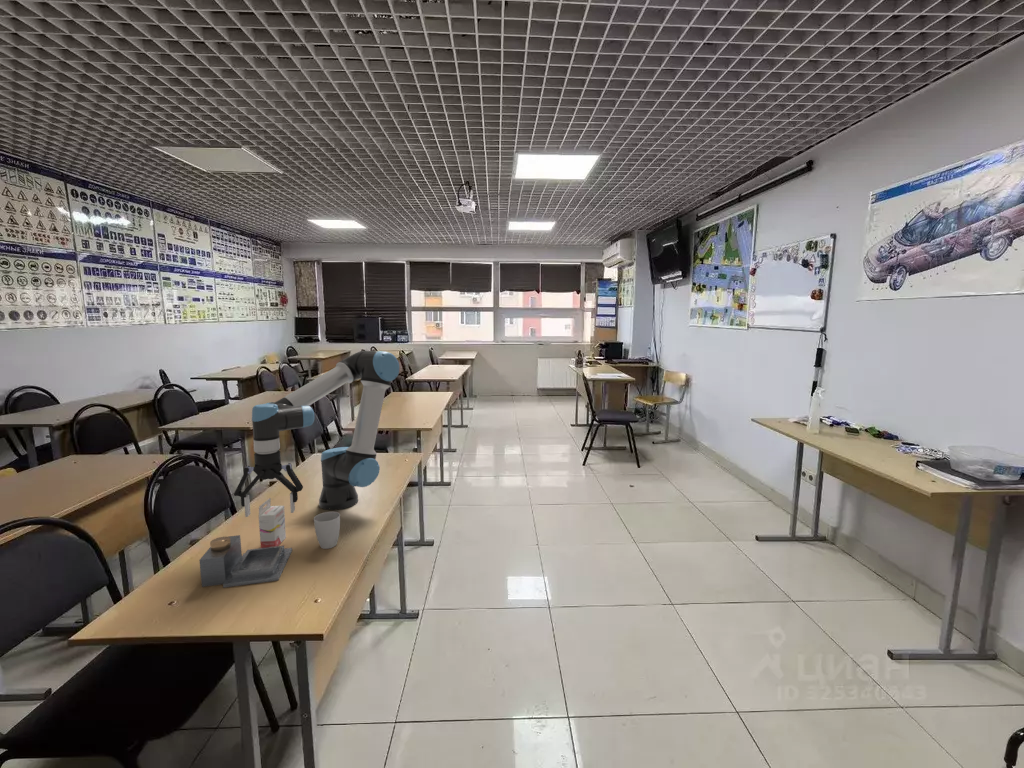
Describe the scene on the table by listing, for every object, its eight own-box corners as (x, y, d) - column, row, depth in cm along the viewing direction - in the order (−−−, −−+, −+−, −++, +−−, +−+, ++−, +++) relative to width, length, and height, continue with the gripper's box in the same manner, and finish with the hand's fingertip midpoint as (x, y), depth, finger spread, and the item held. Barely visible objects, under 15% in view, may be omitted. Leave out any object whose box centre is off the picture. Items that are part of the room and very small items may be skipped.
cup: (346, 541, 152) (345, 513, 151) (329, 552, 144) (328, 523, 143) (327, 537, 155) (325, 510, 153) (309, 548, 147) (308, 519, 146)
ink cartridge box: (276, 549, 147) (273, 506, 145) (260, 550, 146) (257, 507, 144) (286, 537, 155) (284, 496, 153) (272, 537, 155) (269, 497, 153)
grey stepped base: (292, 550, 146) (290, 521, 144) (278, 580, 128) (275, 547, 127) (222, 558, 141) (220, 528, 139) (198, 590, 123) (195, 556, 122)
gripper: (310, 446, 154) (312, 505, 156) (228, 450, 147) (232, 512, 150) (306, 451, 146) (308, 514, 149) (220, 456, 140) (224, 521, 142)
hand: (270, 513), depth 149 cm, fingers open, 13 cm apart
